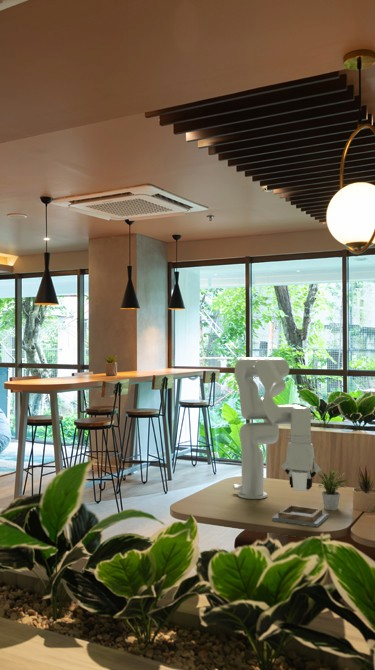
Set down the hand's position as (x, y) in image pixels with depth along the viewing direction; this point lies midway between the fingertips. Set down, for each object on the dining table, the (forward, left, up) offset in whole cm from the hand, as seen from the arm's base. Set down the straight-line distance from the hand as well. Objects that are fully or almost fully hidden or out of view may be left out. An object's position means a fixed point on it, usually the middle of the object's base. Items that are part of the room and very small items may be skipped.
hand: (300, 487), depth 227 cm
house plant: (+6, +19, -12) cm, 23 cm away
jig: (0, 0, -12) cm, 12 cm away
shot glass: (0, 0, -1) cm, 1 cm away
